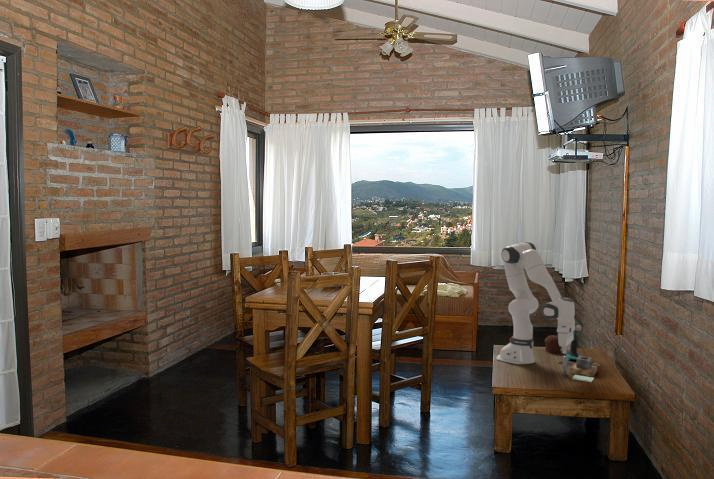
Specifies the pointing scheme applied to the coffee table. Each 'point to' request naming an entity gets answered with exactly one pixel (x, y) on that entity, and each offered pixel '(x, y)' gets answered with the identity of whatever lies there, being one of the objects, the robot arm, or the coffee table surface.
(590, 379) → the mat
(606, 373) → the coffee table surface
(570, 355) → the power drill
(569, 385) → the coffee table surface
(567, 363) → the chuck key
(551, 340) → the muffin
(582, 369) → the block
